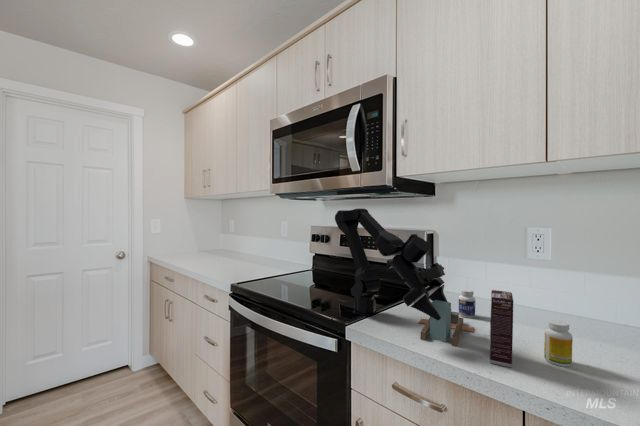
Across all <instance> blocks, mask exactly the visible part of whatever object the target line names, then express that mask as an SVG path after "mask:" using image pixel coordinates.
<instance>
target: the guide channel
mask: <svg viewBox="0 0 640 426" xmlns="http://www.w3.org/2000/svg"><path fill="white" fill-rule="evenodd" d="M418 324H423V325H424V326H423V328H422V329H421V331H420V338H419V339H420V340H422V341H425V340H426V339H427V337H428V336H429V335H430V317H429V318H428V319H427V318H420V319H419V320H418ZM451 330H454V331H453V334H452V336H451V347H452V346H453V347H457V346H458V342H459V340H460V336H461V333H462V332H467V333H468V332H469V333H474V331H475V327H474V326H469V325H464V317H460V315H459V313H458V311H452V310H451Z"/></svg>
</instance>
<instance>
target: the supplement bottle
mask: <svg viewBox="0 0 640 426" xmlns="http://www.w3.org/2000/svg"><path fill="white" fill-rule="evenodd" d="M547 324H548V328H546V329H544V344H543V345H544V350H543V353H544V355H543V356H544V357H543V358H544V360H545V361H546V362H548V363H550V364H552V365H555V366H558V367H562V368H564V367H565V368H567V367H571V366H572V364H573V335H572V333H571V332H570V331H569V330H570V324H569V323H568V322H567V321H563V320H558V319H549V320H548V323H547Z"/></svg>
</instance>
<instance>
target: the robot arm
mask: <svg viewBox="0 0 640 426" xmlns="http://www.w3.org/2000/svg"><path fill="white" fill-rule="evenodd" d="M334 221H335V223H336V225H337V228H338V229H339V230H340V231H341V232H342V233H343V234H344V235H345V240H346V242H347V245H348V249H349V251H350V255H351V258H352V261H353V264H354V266H355V275H354V281H355V283H354V285H353V286H352V287H351V288H350V293H351V294H350V295H351V296H352V297H354V310H352V314H356V315H362V316H367V315H368V317H371V316H372V315H373V314H375V313H376V312H377V310H376V308H377V305H376V303H377V300H376V299H375V296H377V295H379V292H380V289H381V285H382V281H381V280H382V278H381V276H380V274H379V270H378V268H376V267H375V268H373V267H372V266H371V265H370V263H369V262H370V261H369V259H368V257H367V255H366V251H365V249H364V245H363V242H362V240H361V239H362V238H361V237H360V234H359V231H358V228H359V224H360V226H362V227H363V229H364V230H365V231H366V232H367V233H368V234H369V235H370V236H371V238H373V240H374V241H375V243H374V244H375V247H376V249H377V250H378V252H379V253H380V255H381V256H383V257H390V256H391V257H392V258H390V259H387V260H386V270H389V269H392V268H393V269H394V271H396V273H397V274H398V275H399V277H400V279H402V280H401V281H400V282H401V283H402V284H403V285H404V284H406V285H407V286H408V287H409V288H410V290H408V292H406V294H404V295H403V297H402V300H403V304H405V305H406V306H407V307H409V306H410V307H411V309H415V310H417V311H420V312H421V313H424V314H425V315H427V316H429V317H430V316H431V317H432V318H434V319H436V320H440V319H441V317H440V315H439V314H438V312H437V311H436V309H435V308H434V306H433V305H432V303H431V302H433V301H435V300H439V301H444V302H449V301H448V299H447V297H446V295H445V293H444V289H445V281H444V280H443V278H442V277H443V276H446V273H445V271H444V270H445V267H444V266H442V264H439V263H438V262H435V263H433V264H430V268H427V269H423V268H422V267H418V266H417V265H416V264H417V263H419V262H420V261H421V260H422V259H423V258H424V256H426V255H427V253H429V251H430V250H431V246H430V244H429V242H428V241H427V240H425V239H424V238H422V237H420V236H418V234H417V233H414V234H413V233H411V234H410V235H409V237H408V239H407V240H406V241H404V242H403V240H402V239H401V238H400V237H399V236H397V235H396V234H395V233H391V232H389V231H387V230H386V229H385V228H384V227H383V226H382V225H381V224H380V223H379V222H378V221H377V220H376V219H375V218H374V217H373V216H372V214H370V212H369V211H368V209H366V208H363V207H362V208H361V207H360V208H354V209H350V210H347V209H346V210H342V209H340V210H337V212H336V213H335V216H334ZM375 311H376V312H375ZM372 313H373V314H372ZM371 314H372V315H371ZM370 315H371V316H370Z"/></svg>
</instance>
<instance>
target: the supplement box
mask: <svg viewBox="0 0 640 426" xmlns="http://www.w3.org/2000/svg"><path fill="white" fill-rule="evenodd" d="M490 298H491V300H490V301H491V304H490V326H489V327H490V328H489V331H490V332H489V363H490V364H492V365H493V364H494V365H497V366H501V367H506V368H513V335H514V334H513V333H514V332H513V331H514V299H513V292H510V291H503V290H496V289H495V290H494V289H491V297H490Z"/></svg>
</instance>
